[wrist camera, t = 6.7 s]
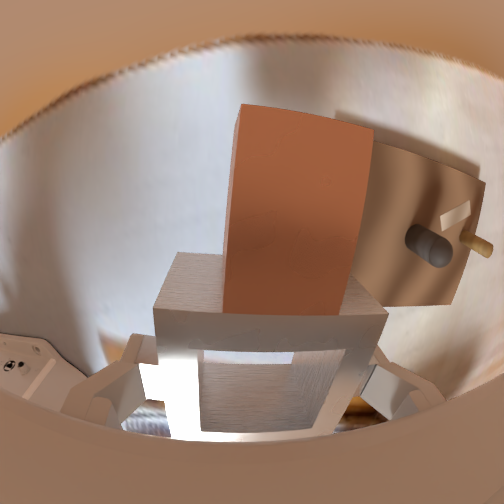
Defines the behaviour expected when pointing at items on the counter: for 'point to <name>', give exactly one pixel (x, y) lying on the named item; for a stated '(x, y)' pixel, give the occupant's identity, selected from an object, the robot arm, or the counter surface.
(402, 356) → the counter surface
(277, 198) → the flange
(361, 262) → the post board
